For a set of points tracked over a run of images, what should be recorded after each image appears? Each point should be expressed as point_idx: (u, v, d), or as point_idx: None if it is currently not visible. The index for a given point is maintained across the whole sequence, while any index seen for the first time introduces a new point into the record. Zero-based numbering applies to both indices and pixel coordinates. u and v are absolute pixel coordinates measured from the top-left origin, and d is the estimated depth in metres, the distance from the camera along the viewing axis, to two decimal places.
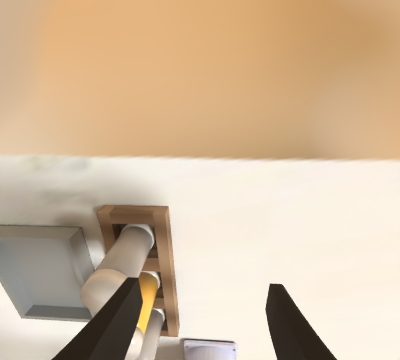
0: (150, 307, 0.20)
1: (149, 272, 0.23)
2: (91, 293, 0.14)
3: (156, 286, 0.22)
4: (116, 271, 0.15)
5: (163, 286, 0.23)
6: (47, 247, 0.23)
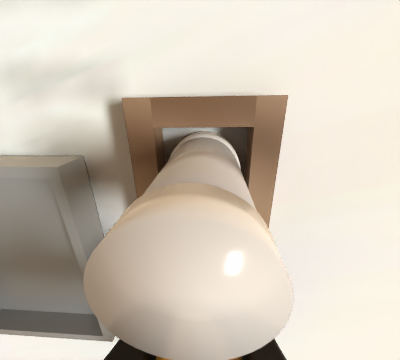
0: None
1: None
2: (136, 276, 0.03)
3: None
4: (224, 192, 0.04)
5: None
6: (18, 199, 0.12)
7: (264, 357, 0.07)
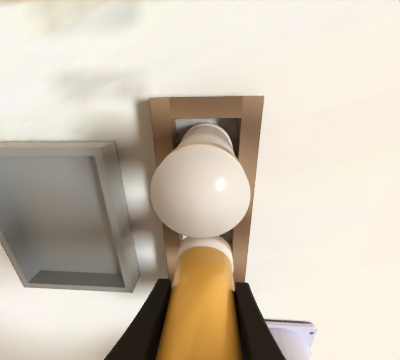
0: (237, 318, 0.09)
1: (217, 247, 0.12)
2: (176, 181, 0.07)
3: (232, 274, 0.11)
4: (218, 145, 0.07)
5: (235, 233, 0.15)
6: (63, 175, 0.16)
7: (264, 357, 0.07)
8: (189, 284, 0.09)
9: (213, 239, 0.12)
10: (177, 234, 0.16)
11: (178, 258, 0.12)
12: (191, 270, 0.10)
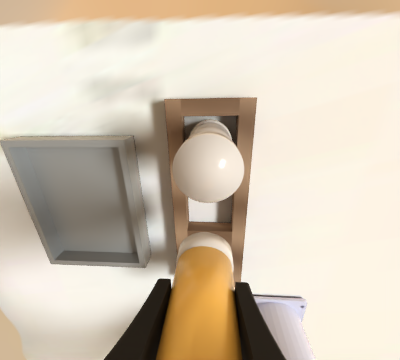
0: (237, 318, 0.09)
1: (217, 247, 0.12)
2: (191, 159, 0.10)
3: (232, 274, 0.11)
4: (221, 135, 0.10)
5: (234, 213, 0.18)
6: (89, 165, 0.18)
7: (264, 357, 0.07)
8: (190, 284, 0.09)
9: (213, 239, 0.12)
10: (185, 215, 0.19)
11: (178, 258, 0.12)
12: (191, 270, 0.10)
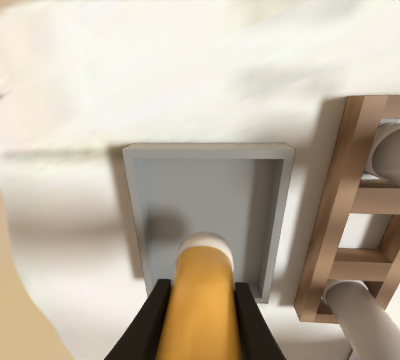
0: (237, 318, 0.09)
1: (217, 247, 0.11)
2: None
3: (232, 274, 0.11)
4: None
5: None
6: (219, 179, 0.14)
7: (264, 357, 0.07)
8: (189, 283, 0.09)
9: (213, 239, 0.12)
10: (338, 242, 0.15)
11: (178, 258, 0.12)
12: (191, 270, 0.10)
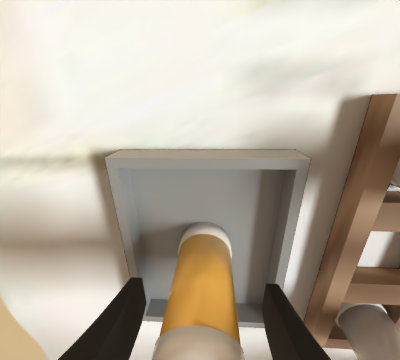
0: (234, 296, 0.10)
1: (216, 235, 0.12)
2: None
3: (230, 260, 0.12)
4: None
5: None
6: (219, 191, 0.13)
7: None
8: (191, 264, 0.10)
9: (213, 228, 0.13)
10: (356, 263, 0.13)
11: (180, 245, 0.13)
12: (193, 254, 0.11)
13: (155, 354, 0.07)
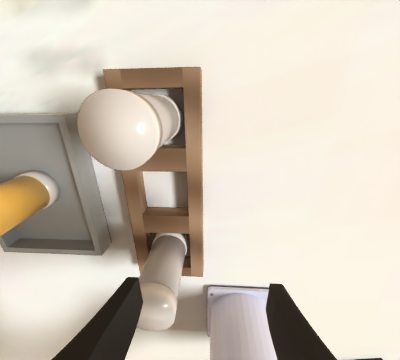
0: (16, 208, 0.15)
1: (33, 176, 0.17)
2: (96, 118, 0.09)
3: (40, 193, 0.17)
4: (136, 94, 0.09)
5: (189, 196, 0.17)
6: (35, 145, 0.17)
7: None
8: None
9: (36, 173, 0.18)
10: (138, 198, 0.18)
11: None
12: None
13: None
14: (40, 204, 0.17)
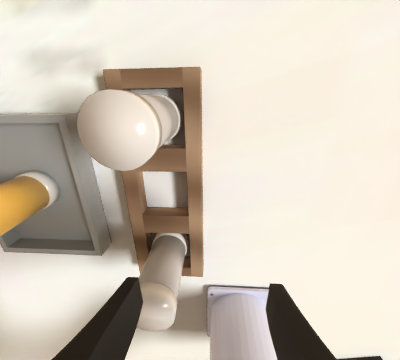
0: (15, 208, 0.15)
1: (33, 176, 0.17)
2: (96, 119, 0.09)
3: (40, 193, 0.17)
4: (136, 95, 0.09)
5: (189, 196, 0.17)
6: (35, 145, 0.17)
7: None
8: None
9: (36, 173, 0.18)
10: (138, 198, 0.18)
11: None
12: None
13: None
14: (40, 204, 0.17)
